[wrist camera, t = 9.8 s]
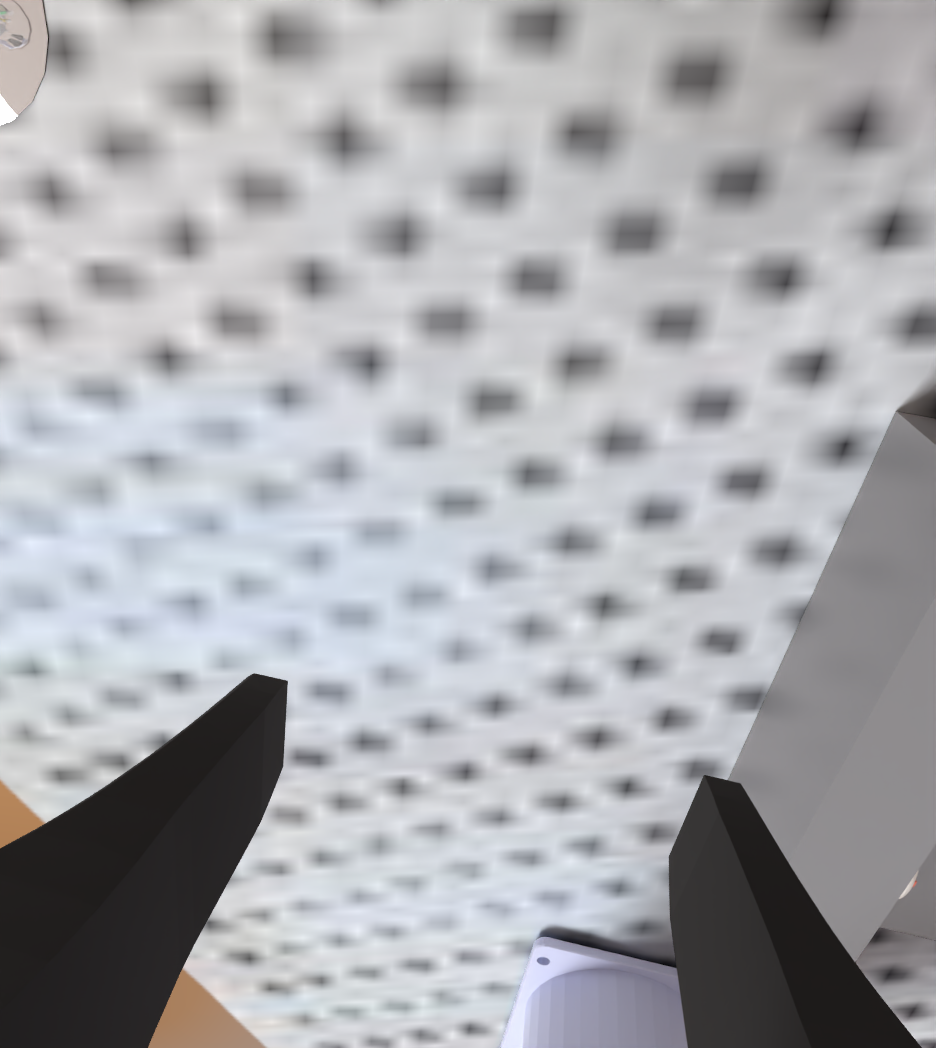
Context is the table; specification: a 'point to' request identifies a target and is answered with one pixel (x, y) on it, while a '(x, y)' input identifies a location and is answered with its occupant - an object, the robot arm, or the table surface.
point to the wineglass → (21, 54)
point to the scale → (862, 710)
